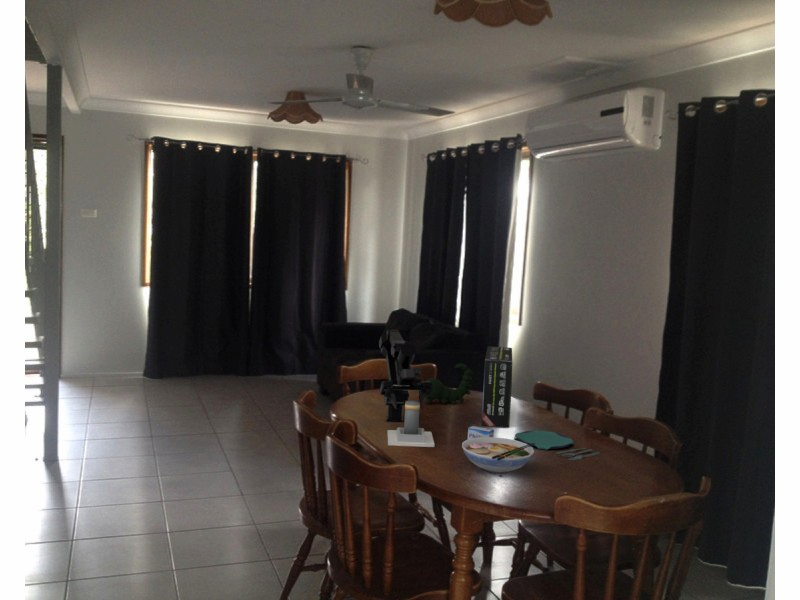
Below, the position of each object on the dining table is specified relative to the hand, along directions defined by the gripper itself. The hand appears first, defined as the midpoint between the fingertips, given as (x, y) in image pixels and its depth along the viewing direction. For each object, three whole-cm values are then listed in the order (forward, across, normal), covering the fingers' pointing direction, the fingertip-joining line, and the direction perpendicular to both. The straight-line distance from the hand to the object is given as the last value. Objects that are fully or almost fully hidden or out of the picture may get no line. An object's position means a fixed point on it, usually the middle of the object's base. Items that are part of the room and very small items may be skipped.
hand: (408, 408), depth 259 cm
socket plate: (+10, 0, +5) cm, 11 cm away
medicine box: (+22, +21, -7) cm, 31 cm away
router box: (-12, +44, +28) cm, 53 cm away
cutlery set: (+17, +51, -2) cm, 54 cm away
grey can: (+10, 0, +3) cm, 11 cm away
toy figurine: (-28, +27, +45) cm, 60 cm away
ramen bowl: (+34, +21, -19) cm, 44 cm away
